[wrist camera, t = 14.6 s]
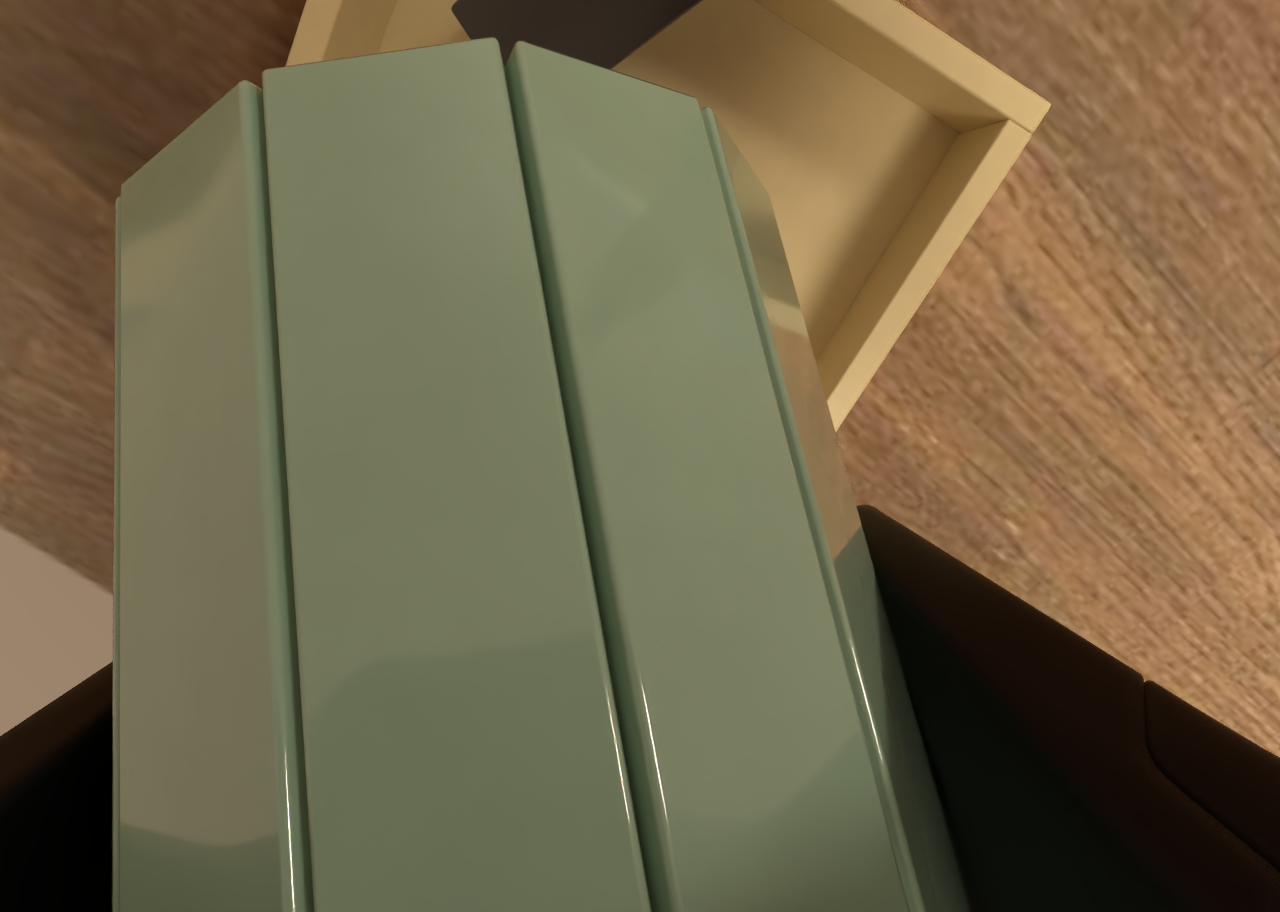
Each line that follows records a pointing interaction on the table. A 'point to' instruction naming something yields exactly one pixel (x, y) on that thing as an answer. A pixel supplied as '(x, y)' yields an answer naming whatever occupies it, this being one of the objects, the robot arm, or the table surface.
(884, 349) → the tray
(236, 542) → the grooved sage-green cylinder
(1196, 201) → the table surface
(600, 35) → the black block
